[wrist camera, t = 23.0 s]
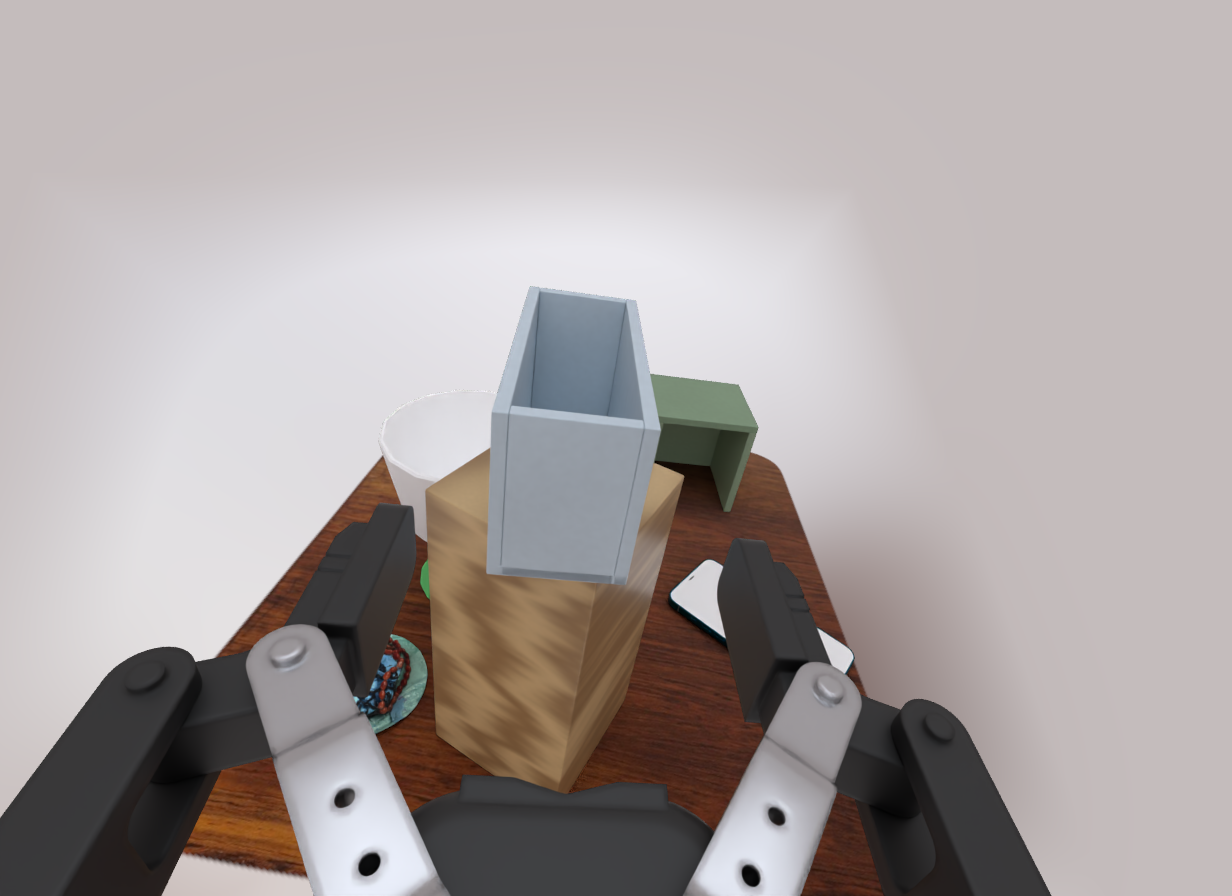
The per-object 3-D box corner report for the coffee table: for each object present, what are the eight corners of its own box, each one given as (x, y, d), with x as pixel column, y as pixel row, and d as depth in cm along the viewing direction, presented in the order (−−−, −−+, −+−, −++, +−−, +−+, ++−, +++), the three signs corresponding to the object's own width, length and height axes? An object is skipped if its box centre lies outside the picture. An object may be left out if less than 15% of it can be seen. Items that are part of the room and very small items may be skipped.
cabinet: (730, 512, 66) (758, 427, 60) (638, 503, 65) (657, 415, 59) (714, 463, 74) (738, 384, 68) (633, 454, 73) (649, 373, 67)
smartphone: (854, 659, 51) (706, 562, 58) (858, 652, 50) (708, 555, 58) (821, 719, 45) (662, 603, 53) (825, 712, 45) (664, 596, 52)
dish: (272, 651, 40) (360, 608, 39) (343, 645, 47) (420, 608, 46) (292, 769, 37) (387, 726, 36) (365, 745, 44) (447, 707, 43)
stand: (624, 700, 44) (685, 475, 32) (552, 818, 36) (597, 580, 24) (521, 638, 47) (541, 413, 35) (435, 734, 40) (424, 489, 28)
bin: (625, 585, 24) (661, 430, 20) (485, 574, 24) (491, 411, 19) (615, 421, 36) (636, 300, 32) (521, 410, 35) (529, 285, 31)
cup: (551, 532, 59) (566, 400, 50) (537, 642, 47) (553, 495, 39) (417, 518, 57) (409, 380, 49) (369, 628, 46) (348, 472, 37)
